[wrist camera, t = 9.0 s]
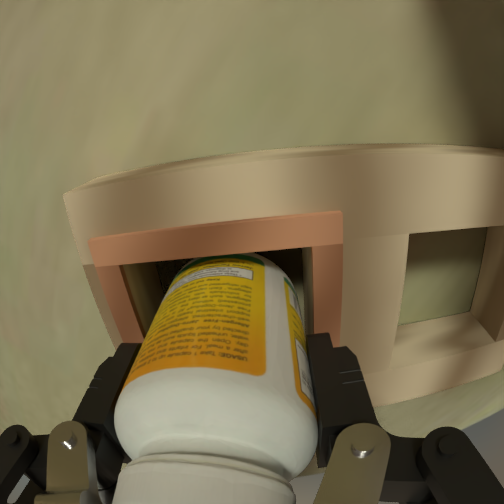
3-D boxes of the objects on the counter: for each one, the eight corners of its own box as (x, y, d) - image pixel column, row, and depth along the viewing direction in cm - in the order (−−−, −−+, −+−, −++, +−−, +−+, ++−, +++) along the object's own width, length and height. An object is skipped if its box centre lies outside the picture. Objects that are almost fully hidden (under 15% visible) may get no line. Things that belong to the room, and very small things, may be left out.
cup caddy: (515, 150, 11) (559, 164, 8) (478, 341, 16) (502, 373, 13) (99, 176, 12) (58, 196, 9) (163, 381, 17) (150, 424, 14)
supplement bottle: (323, 294, 13) (383, 526, 4) (244, 367, 15) (233, 561, 6) (217, 216, 12) (129, 472, 3) (148, 308, 13) (61, 508, 5)
